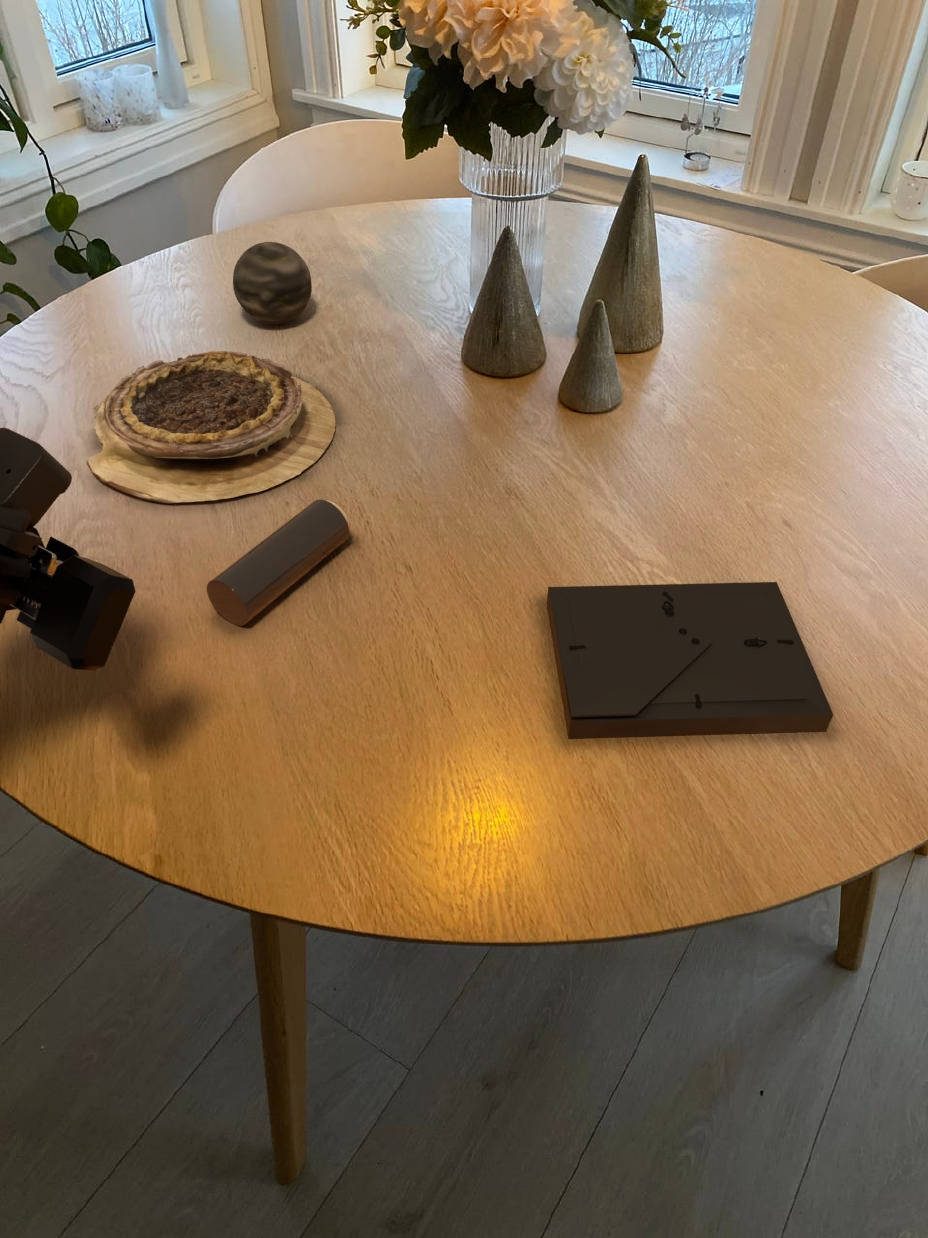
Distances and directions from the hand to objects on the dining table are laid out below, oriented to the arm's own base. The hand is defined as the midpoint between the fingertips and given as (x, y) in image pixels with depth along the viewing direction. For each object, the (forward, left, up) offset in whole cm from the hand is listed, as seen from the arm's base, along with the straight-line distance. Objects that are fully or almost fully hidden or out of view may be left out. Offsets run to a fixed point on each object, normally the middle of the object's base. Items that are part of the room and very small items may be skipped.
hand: (102, 588), depth 69 cm
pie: (+17, +36, -13) cm, 42 cm away
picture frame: (+41, -17, -13) cm, 47 cm away
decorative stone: (+33, +58, -13) cm, 68 cm away
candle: (+10, +6, -10) cm, 15 cm away
